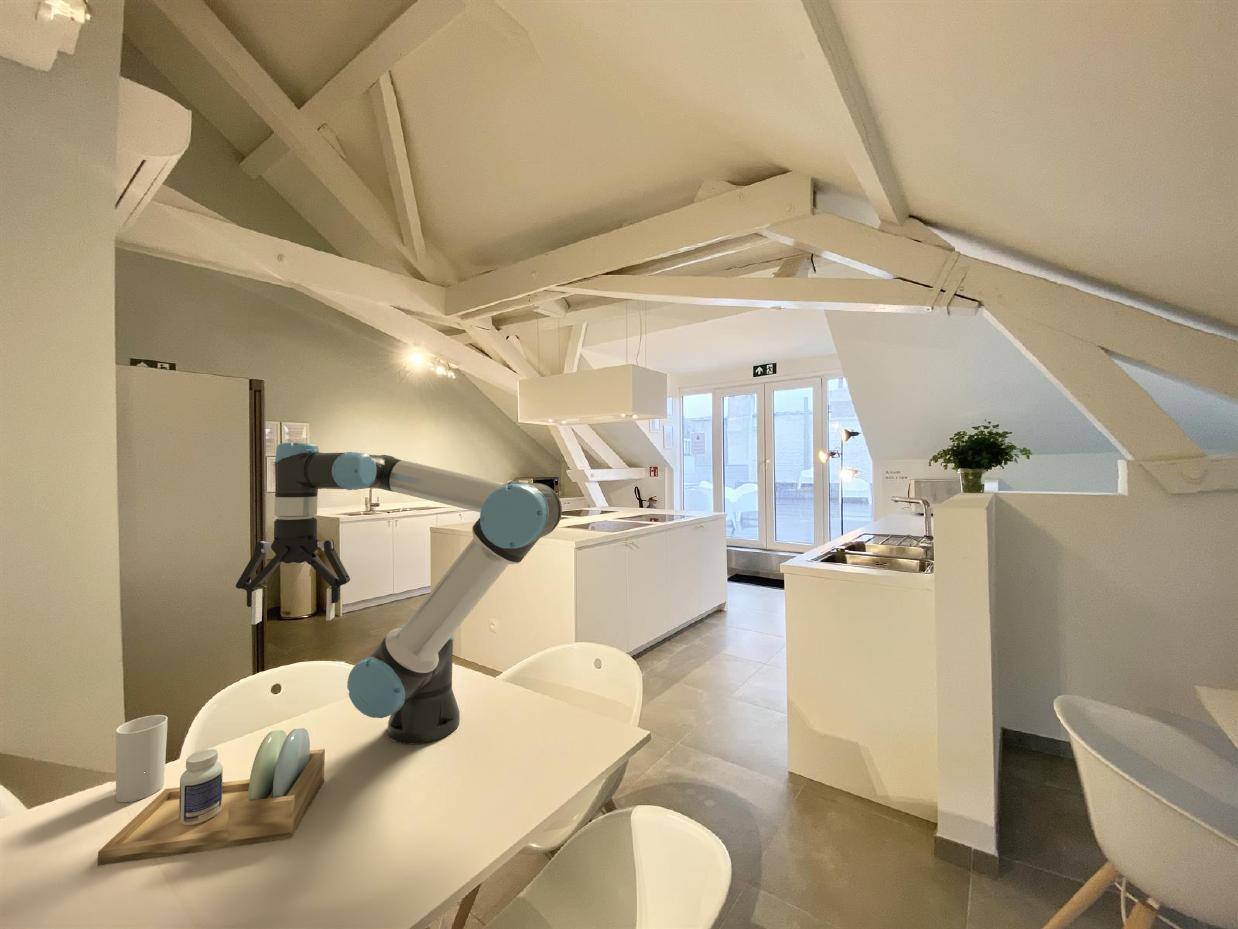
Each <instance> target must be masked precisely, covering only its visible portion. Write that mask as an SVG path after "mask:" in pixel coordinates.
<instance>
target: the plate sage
mask: <svg viewBox="0 0 1238 929" xmlns="http://www.w3.org/2000/svg"><path fill="white" fill-rule="evenodd" d="M287 736H288V734H287V733H286V731H284V729H283V730H281V729H280V730H272V731H270V732H268V733H267V734H266V735H265V736H264V738H263V739H262V741H261V743H260V745H259V746H258V749H257V752H256V754H255V757H254V760H253V763H252V767H251V772H250V774H249V775H250V776H249V779H250V781H249V792H248V798H249V801H250V800H259V799H267V798H268V796H269V795H270V794H271V792H272V791H273V782H274V774H275V769H276V764H277V760H278V757H279V753H280V751H281V748H282V745H283V743H284V741H285V739H286V737H287Z"/></svg>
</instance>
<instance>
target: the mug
mask: <svg viewBox="0 0 1238 929" xmlns="http://www.w3.org/2000/svg"><path fill="white" fill-rule="evenodd" d="M167 736H168V716H166V715H163V714H155V715H153V714H152V715H147V716H142V717H137V718H135V719H132V720H130V721H127V722H124V723H123V724H121V725H119V726H118V727H116V729H115V798H116V799H115V800H116V801H117V802H118V803H119V802H120V803H131V802H135V801H139V800H144V799H146V798H147V797H150V796H153V795H155V793H158V792H159V791H160V790H161V789H162V788H163V787H164V785H165V772H166V755H167V754H166V753H167V739H168V738H167ZM144 772H145V773H144Z"/></svg>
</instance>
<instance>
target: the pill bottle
mask: <svg viewBox="0 0 1238 929" xmlns="http://www.w3.org/2000/svg"><path fill="white" fill-rule="evenodd" d="M218 752H219V751H218V749H215V748H209V749H204V750H203V749H202V750H200V751H196V752H194V753H192V754H190V755H189V756H188V757H187V758H186V760H185V769H186V770H185V771H184V772H183V773H181V775H180V778H179V787H180V802H179V821H180V823H181V824H183V825H195V824H199V823H202V822H204V821H207V820H209V819H211V818H212V817H214V816H215V815H216V814H218V813H219V811H220V810H221V807H222V782H223V776H224V775H223V769H224V768H223V765H222V763H221V762H219V761H218V758H219V753H218Z"/></svg>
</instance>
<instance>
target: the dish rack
mask: <svg viewBox="0 0 1238 929" xmlns="http://www.w3.org/2000/svg"><path fill="white" fill-rule="evenodd" d="M325 753H326V749H325V748H323V749H322V748H321V749H313V750H312V749H310V756H309V763H308V765H307V766H306V768H305V769H304V771H303V772H302V774H301V775H300V777H299V778H298V779H297V781H296V782H295V784H294V785H293V787H292V788H291V790H290V791H289V793H288V794H287V796H283V797H275V798H273V791H272V792H271V794H270V795H269V796H268V798H267V799H259V800H250V801H249V798H248V792H249V781H250V778H249V779H241V780H231V781H224V782H223V781H222V807H221V810H220V811H219V813H218V814H216V815H215V816H214V817H212V818H211V819H209V820H207V821H204V822H202V823H199V824H195V825H183V824H181V823H180V821H179V802H180V786H179V787H171V788H165V789H164V790H163V791H162V792H161V793H160V794H158V796H156V797H155V798H154V799H153V800H152V801H151V802H150V803H149V804H148V805H147V806H145V807H144V808H143V809H142V810H141V811H140V812H139V813H138V814H137V815H136V816H134V818H133V819H131V820H130V822H128V823H127V824H126V825H125V826H124V827H123V828H122V829H120V830H119V832H118V833H116V834H115V835H114V836H113V837H112V838H111V839H110V840H109V841H108V842H106V844H105V845H104V846H102V848H100V849H99V850H98V851H97V867H99V866H105V865H113V864H119V863H127V862H128V863H129V862H134V861H140V860H148V859H155V858H162V857H163V858H164V857H170V856H176V855H185V854H190V853H199V852H206V851H214V850H221V849H227V848H229V849H230V848H235V847H243V846H249V845H250V846H251V845H257V844H262V843H263V844H264V843H270V842H277V841H278V842H279V841H285V840H290V839H292V838H293V836H294V834H295V833H296V831H297V830H298V827H299V826H300V824H301V822H302V821H303V819H304V817H305V816H306V813H307V812H308V810H309V808H310V807H311V805H312V804H313V801H314V800H315V798H316V796H317V795H318V793H319V791H320V790H321V788H322V786H323V785H324V783H325V762H326V761H325V757H326V756H325Z"/></svg>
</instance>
